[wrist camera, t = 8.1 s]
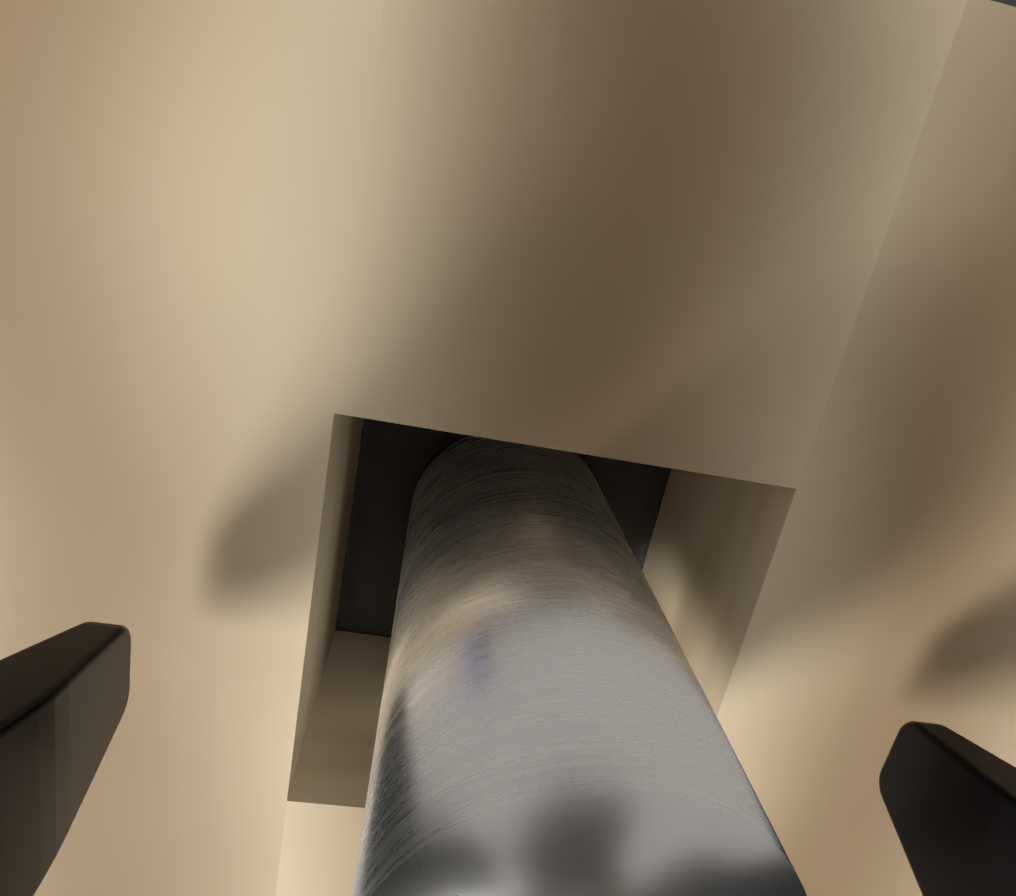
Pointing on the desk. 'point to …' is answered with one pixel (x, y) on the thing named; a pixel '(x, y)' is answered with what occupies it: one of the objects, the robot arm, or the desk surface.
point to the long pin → (546, 707)
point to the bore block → (505, 375)
